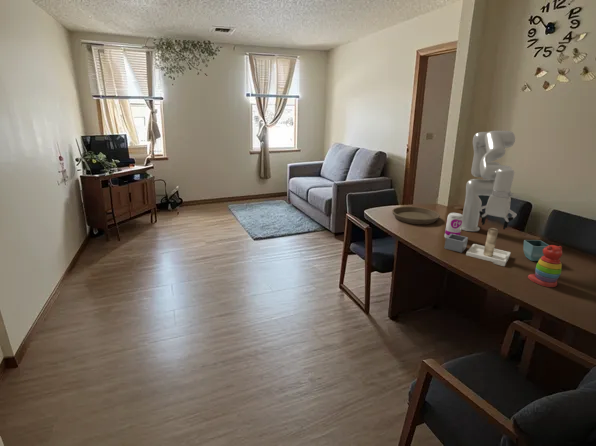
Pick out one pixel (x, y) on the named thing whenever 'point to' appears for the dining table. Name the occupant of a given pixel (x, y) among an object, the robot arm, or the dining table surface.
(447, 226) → the supplement can
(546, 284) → the stacking bear
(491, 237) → the birch peg
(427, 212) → the plant saucer
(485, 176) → the robot arm
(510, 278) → the dining table surface
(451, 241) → the grey open box
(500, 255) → the white tray
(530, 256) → the flower pot
